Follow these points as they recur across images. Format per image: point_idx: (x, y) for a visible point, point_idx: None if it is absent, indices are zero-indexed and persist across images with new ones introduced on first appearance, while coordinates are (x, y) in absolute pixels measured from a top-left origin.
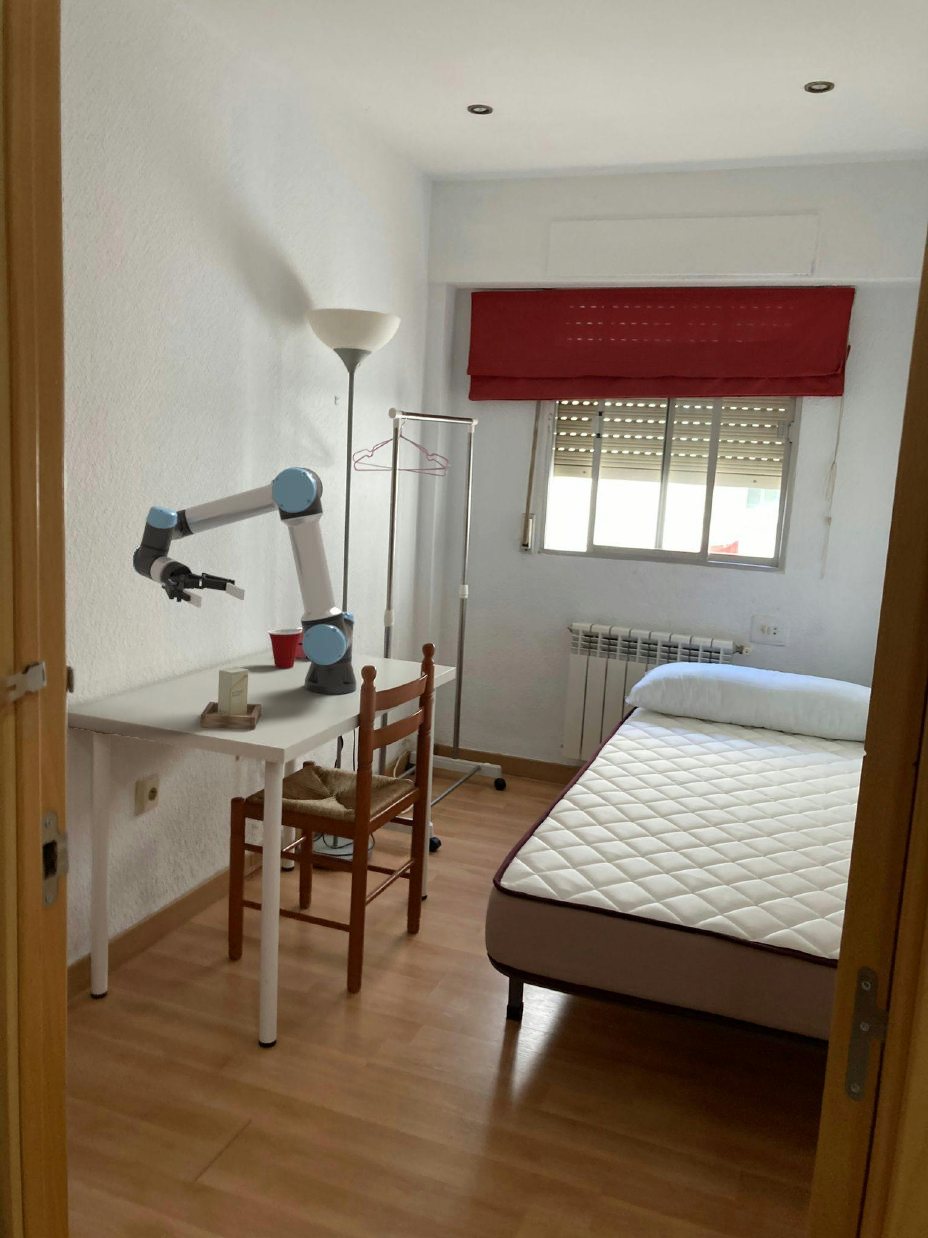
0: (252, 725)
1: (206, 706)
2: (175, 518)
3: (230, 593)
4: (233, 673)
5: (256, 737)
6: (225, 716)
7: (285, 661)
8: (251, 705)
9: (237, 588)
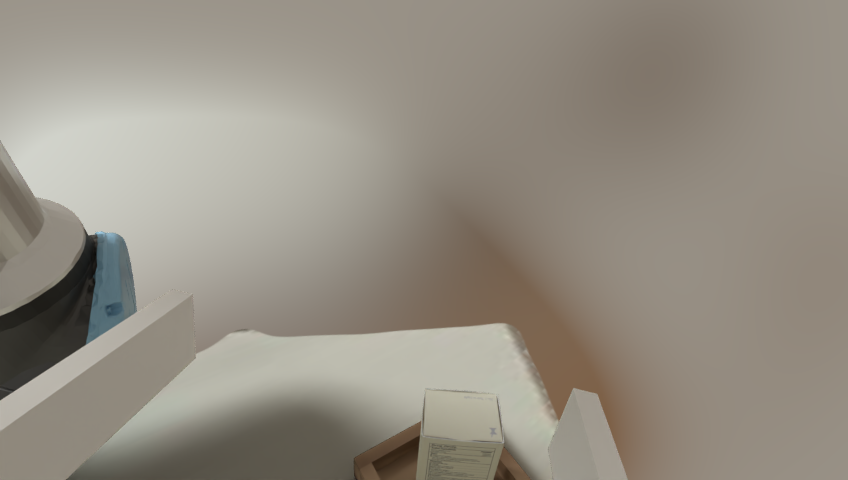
0: None
1: None
2: None
3: (72, 460)
4: (488, 395)
5: (497, 382)
6: (508, 452)
7: None
8: (376, 474)
9: (148, 329)
